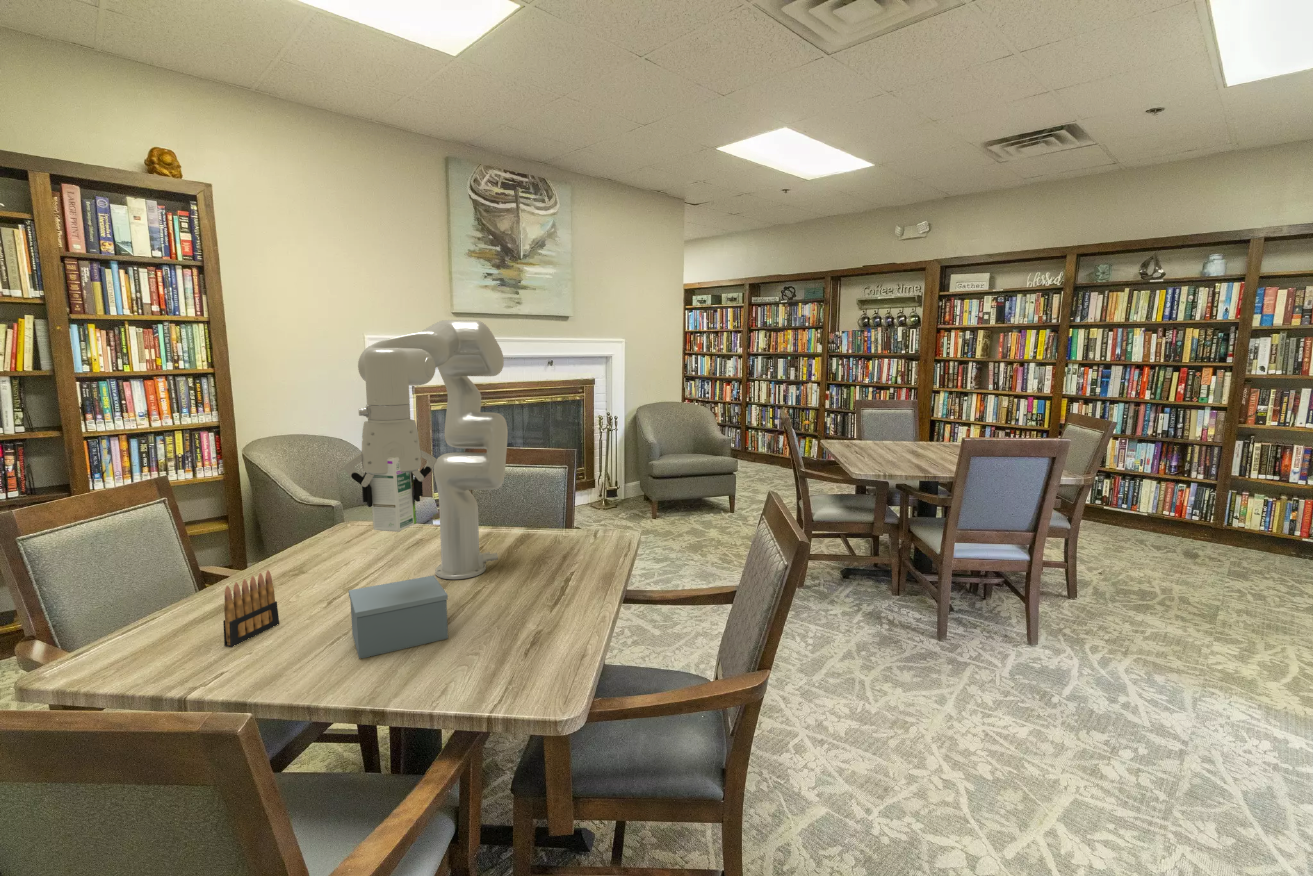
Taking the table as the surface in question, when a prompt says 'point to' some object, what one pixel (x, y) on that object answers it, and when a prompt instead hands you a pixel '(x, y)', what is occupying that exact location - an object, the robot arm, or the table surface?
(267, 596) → the ammunition clip
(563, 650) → the table surface
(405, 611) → the box
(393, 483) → the syrup box
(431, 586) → the lid
